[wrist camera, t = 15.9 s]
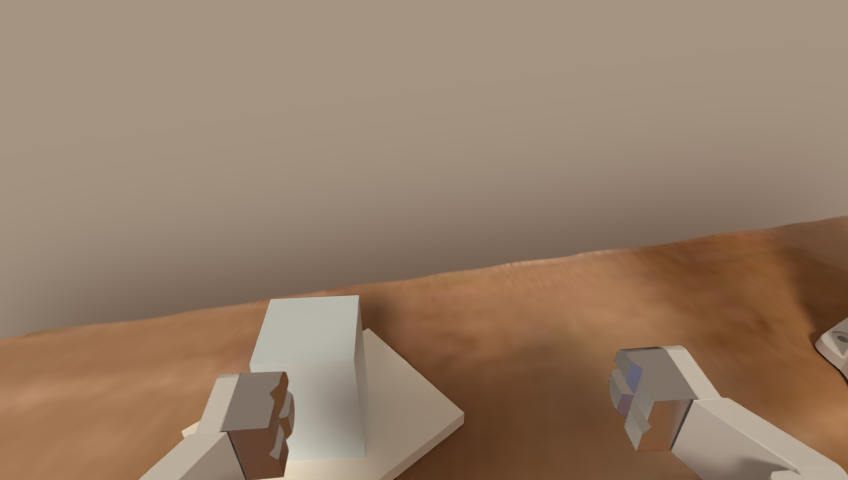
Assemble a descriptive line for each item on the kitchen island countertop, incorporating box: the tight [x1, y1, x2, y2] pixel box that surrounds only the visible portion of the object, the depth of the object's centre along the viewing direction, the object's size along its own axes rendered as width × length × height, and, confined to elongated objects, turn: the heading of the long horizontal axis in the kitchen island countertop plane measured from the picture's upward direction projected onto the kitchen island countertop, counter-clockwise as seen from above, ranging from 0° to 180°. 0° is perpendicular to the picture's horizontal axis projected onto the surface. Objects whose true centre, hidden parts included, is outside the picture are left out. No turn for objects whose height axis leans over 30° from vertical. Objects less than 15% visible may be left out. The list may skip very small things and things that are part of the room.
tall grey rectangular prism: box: [250, 295, 368, 462], centre depth 31 cm, size 6×6×9 cm
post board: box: [181, 328, 464, 480], centre depth 32 cm, size 16×12×8 cm
